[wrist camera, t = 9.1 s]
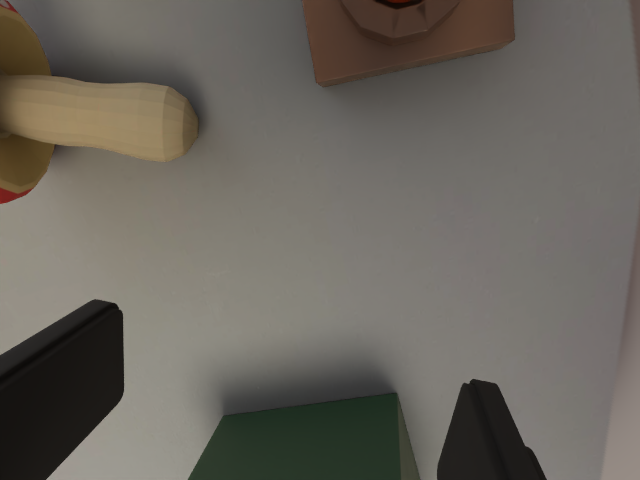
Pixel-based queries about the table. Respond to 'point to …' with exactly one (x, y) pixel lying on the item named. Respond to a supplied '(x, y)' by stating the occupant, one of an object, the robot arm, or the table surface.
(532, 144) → the table surface
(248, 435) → the camp stove
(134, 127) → the decorative mushroom
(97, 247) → the table surface
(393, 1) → the button
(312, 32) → the block
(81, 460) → the table surface
